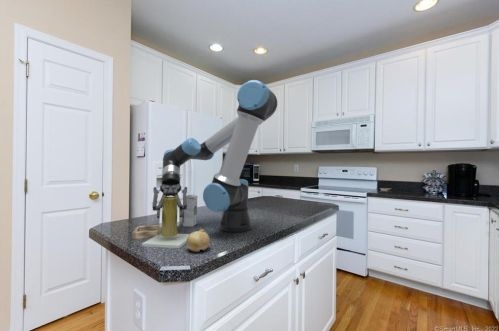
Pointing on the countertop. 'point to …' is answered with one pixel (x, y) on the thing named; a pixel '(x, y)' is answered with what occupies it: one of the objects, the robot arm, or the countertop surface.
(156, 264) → the countertop surface
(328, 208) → the countertop surface
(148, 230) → the collar
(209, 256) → the countertop surface
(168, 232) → the vase
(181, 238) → the tile
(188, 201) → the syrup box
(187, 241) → the onion
